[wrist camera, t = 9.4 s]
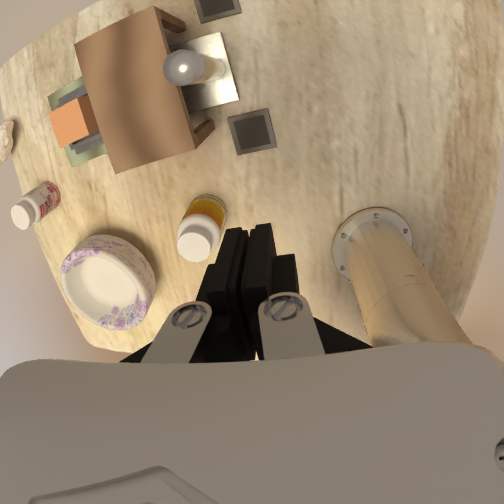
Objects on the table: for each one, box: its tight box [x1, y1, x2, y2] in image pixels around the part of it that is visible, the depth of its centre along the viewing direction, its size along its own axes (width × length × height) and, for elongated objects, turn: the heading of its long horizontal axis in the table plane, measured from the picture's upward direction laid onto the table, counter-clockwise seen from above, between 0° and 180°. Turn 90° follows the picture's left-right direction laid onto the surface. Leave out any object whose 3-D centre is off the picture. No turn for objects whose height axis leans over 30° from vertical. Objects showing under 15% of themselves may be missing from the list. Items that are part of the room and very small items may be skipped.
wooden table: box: [48, 0, 277, 174], centre depth 31 cm, size 30×23×11 cm
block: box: [49, 95, 99, 148], centre depth 34 cm, size 5×5×5 cm
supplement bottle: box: [177, 195, 227, 262], centre depth 40 cm, size 5×5×10 cm
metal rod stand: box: [56, 32, 239, 155], centre depth 29 cm, size 24×9×15 cm, turn 104°
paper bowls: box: [60, 234, 156, 330], centre depth 47 cm, size 15×15×8 cm
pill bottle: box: [11, 182, 60, 230], centre depth 40 cm, size 5×5×8 cm
